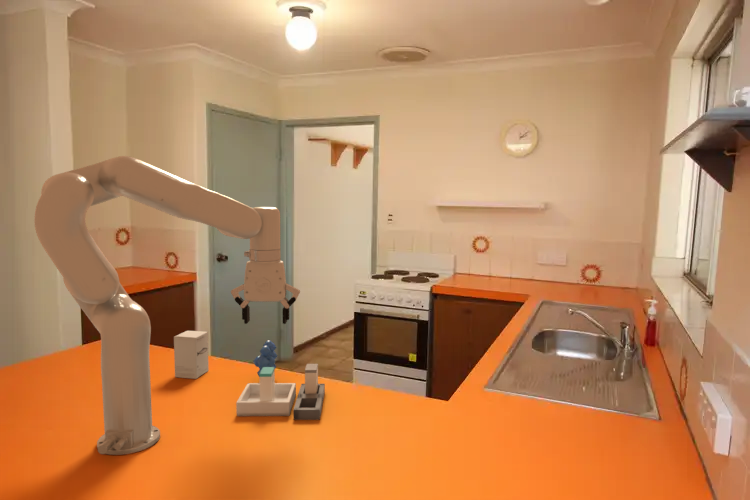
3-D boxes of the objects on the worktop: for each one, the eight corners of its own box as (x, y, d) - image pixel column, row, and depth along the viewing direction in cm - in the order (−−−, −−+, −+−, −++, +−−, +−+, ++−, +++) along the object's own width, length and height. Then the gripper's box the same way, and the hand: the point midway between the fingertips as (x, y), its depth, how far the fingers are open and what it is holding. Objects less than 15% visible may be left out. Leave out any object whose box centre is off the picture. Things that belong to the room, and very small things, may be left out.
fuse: (316, 402, 137) (316, 370, 136) (305, 402, 137) (304, 370, 136) (318, 394, 142) (317, 363, 141) (307, 394, 142) (306, 363, 141)
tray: (289, 415, 129) (289, 402, 128) (236, 416, 128) (236, 402, 128) (295, 395, 141) (295, 383, 141) (248, 395, 141) (247, 383, 141)
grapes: (259, 373, 158) (259, 335, 157) (281, 374, 157) (281, 336, 156) (246, 387, 147) (245, 346, 145) (269, 389, 146) (269, 347, 145)
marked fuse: (271, 406, 132) (271, 373, 131) (260, 407, 132) (259, 373, 131) (274, 399, 137) (274, 367, 136) (263, 399, 137) (262, 367, 136)
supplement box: (196, 379, 153) (195, 337, 152) (174, 377, 155) (172, 336, 153) (209, 371, 160) (208, 331, 159) (187, 369, 162) (186, 329, 160)
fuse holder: (319, 419, 127) (319, 409, 126) (293, 419, 126) (293, 409, 126) (324, 392, 144) (324, 383, 144) (301, 392, 144) (301, 383, 143)
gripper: (226, 257, 127) (228, 326, 128) (297, 258, 127) (298, 326, 129) (234, 254, 134) (235, 318, 136) (301, 254, 134) (301, 319, 136)
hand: (266, 322), depth 132 cm, fingers open, 9 cm apart
